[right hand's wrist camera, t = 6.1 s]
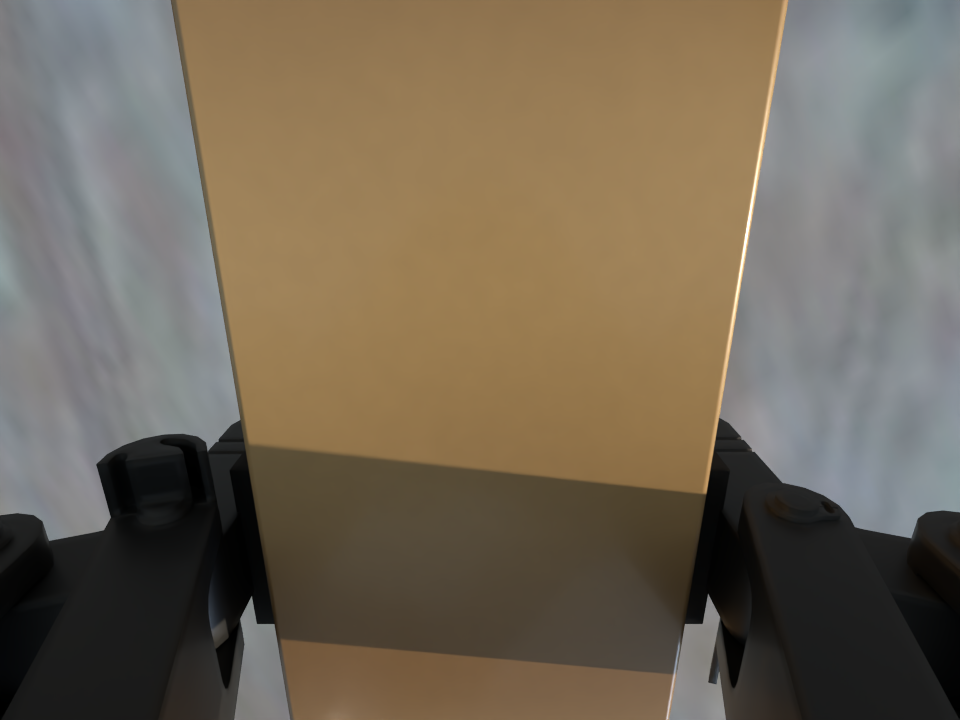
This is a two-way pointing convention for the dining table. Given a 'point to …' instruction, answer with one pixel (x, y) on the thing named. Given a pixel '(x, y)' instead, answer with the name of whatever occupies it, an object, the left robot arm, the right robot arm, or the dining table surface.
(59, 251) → the dining table surface
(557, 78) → the bar
